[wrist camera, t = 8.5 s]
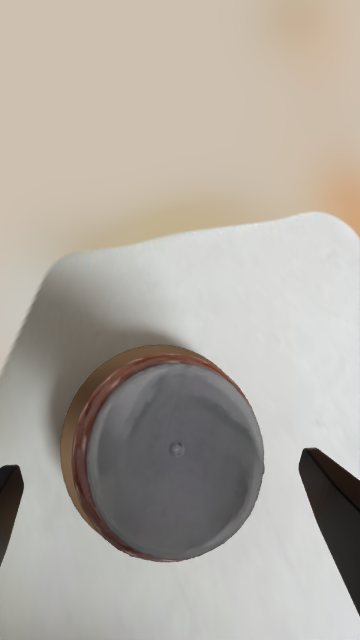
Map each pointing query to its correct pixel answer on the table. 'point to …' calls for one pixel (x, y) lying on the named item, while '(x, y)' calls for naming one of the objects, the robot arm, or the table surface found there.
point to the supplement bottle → (167, 458)
